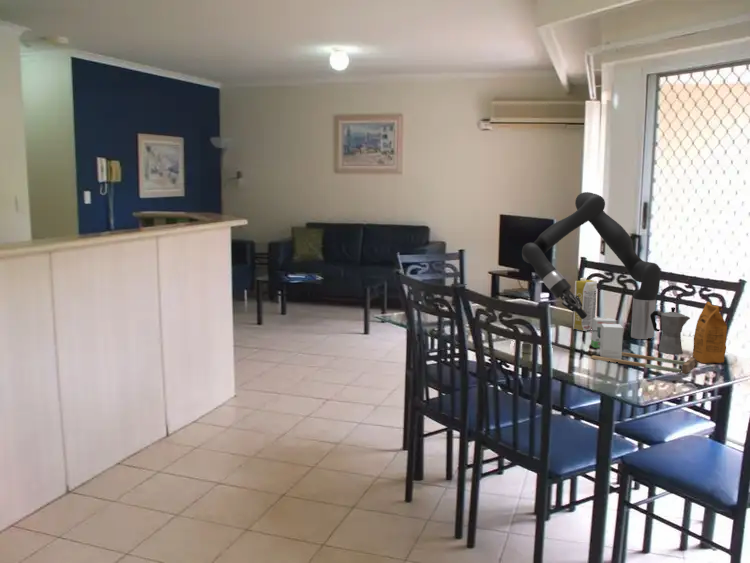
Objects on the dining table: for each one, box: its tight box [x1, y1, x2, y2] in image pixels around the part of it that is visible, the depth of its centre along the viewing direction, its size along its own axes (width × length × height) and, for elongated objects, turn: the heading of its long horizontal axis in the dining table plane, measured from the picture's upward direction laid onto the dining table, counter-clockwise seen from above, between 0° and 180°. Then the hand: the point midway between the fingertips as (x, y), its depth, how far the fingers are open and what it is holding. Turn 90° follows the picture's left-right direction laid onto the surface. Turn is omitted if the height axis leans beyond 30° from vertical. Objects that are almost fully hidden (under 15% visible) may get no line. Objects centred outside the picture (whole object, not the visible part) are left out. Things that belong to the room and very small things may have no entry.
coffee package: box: [692, 301, 728, 364], centre depth 257 cm, size 10×12×22 cm
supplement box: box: [599, 323, 624, 360], centre depth 262 cm, size 7×7×13 cm
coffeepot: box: [650, 306, 691, 355], centre depth 271 cm, size 15×9×18 cm, turn 45°
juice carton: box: [572, 277, 598, 332], centre depth 309 cm, size 9×8×24 cm
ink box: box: [590, 316, 617, 349], centre depth 278 cm, size 9×5×12 cm, turn 85°
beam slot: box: [590, 351, 696, 375], centre depth 255 cm, size 14×34×3 cm, turn 53°
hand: (585, 317), depth 267 cm, fingers closed
